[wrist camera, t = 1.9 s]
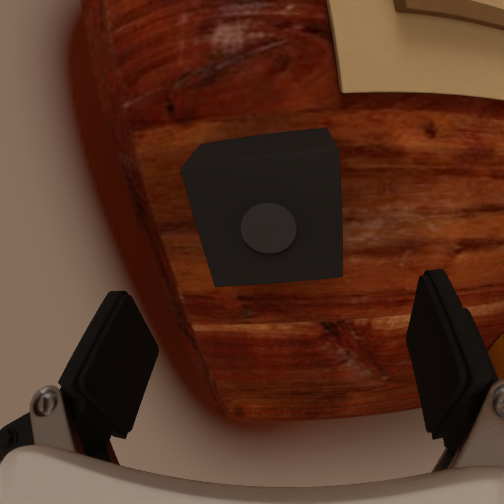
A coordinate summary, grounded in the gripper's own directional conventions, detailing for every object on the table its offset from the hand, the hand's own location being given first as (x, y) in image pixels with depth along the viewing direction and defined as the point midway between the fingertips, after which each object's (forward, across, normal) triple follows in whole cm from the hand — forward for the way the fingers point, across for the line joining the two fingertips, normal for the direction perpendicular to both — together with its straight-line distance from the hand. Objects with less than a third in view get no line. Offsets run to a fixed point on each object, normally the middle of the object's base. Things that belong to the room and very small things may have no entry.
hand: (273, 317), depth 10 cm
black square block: (+9, 0, 0) cm, 9 cm away
